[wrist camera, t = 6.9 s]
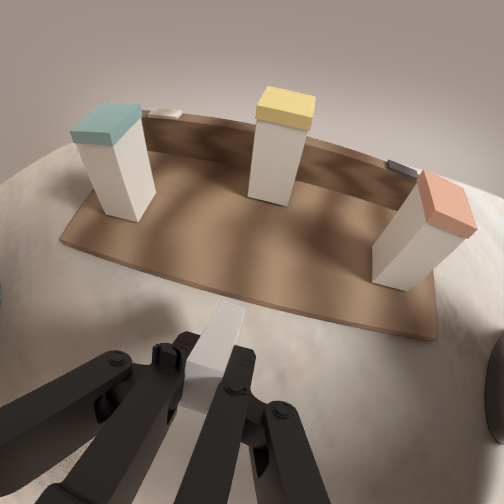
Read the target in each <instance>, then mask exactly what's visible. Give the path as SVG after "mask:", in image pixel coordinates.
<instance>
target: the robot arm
mask: <svg viewBox="0 0 504 504" xmlns="http://www.w3.org/2000/svg"><path fill="white" fill-rule="evenodd" d="M245 309H246V307H244V306H241V305H237V304H233V303H230V302H226V301H223V300H222V301H221V302H220V304H219V306H218V308H217V309H216V311H215V313H214V314H213V316H212V318H211V319H210V321H209V323H208V324H207V326H206V328H205V330H204V331H203V333H202V335H201V336H200V335H197V334H194V333H191V332H188V331H185V332H183V333H181V334H179V335H178V337H177V338H176V339H175V341H174V342H173V344H170V343H160V344H156V345H155V346H154V347H153V352H152V363H151V364H150V365H141V364H136V363H132V359H131V357H130V356H129V355H128V354H126V353H124V352H122V351H117V350H114V351H108V352H106V353H104V354H102V355H100V356H98V357H96V358H94V359H93V360H91V361H89V362H87V363H85V364H83V365H81V366H79V367H78V368H76V369H74V370H72V371H70V372H68V373H66V374H64V375H63V376H61V377H59V378H57V379H55V380H53V381H51V382H49V383H47V384H45V385H44V386H42V387H40V388H38V389H36V390H34V391H32V392H30V393H28V394H26V395H24V396H22V397H20V398H18V399H16V400H14V401H12V402H11V403H9V404H7V405H5V406H3V407H1V408H0V497H3V496H6V495H9V494H11V493H13V492H15V491H17V490H19V489H21V488H22V487H24V486H25V485H27V484H28V483H30V482H31V481H33V480H34V479H36V478H37V477H39V476H40V475H42V474H43V473H45V472H46V471H48V470H49V469H51V468H52V467H53V466H55V465H56V464H58V463H59V462H61V461H62V460H63V459H65V458H66V457H68V456H69V455H70V454H72V453H73V452H74V451H76V450H77V449H79V448H80V447H81V446H83V445H84V444H85V443H87V442H88V441H89V440H91V439H92V438H93V437H95V436H96V435H97V436H96V437H95V438H94V440H93V441H92V442H91V444H90V445H89V447H88V448H87V449H86V451H85V452H84V453H83V455H82V456H81V457H80V459H79V460H78V461H77V463H76V464H75V466H74V467H73V468H72V470H71V471H70V472H69V474H68V475H67V477H66V478H65V479H64V480H63V481H62V482H61V483H53V484H51V485H49V486H48V487H47V488H46V489H45V490H44V492H43V493H42V494H41V496H40V497H39V498H38V500H37V501H36V502H35V504H132V502H133V500H134V498H135V496H136V494H137V492H138V490H139V488H140V486H141V484H142V482H143V480H144V478H145V476H146V474H147V472H148V470H149V468H150V466H151V464H152V462H153V460H154V458H155V456H156V454H157V452H158V450H159V448H160V446H161V443H162V441H163V439H164V437H165V435H166V433H167V431H168V429H169V427H170V425H171V423H172V421H173V419H174V417H175V415H176V412H177V406H178V404H179V402H180V406H183V407H185V408H188V409H191V410H195V411H198V412H201V413H204V414H207V416H206V419H205V422H204V424H203V427H202V430H201V432H200V435H199V438H198V440H197V443H196V446H195V448H194V451H193V454H192V456H191V459H190V462H189V464H188V467H187V470H186V472H185V475H184V477H183V480H182V483H181V485H180V488H179V491H178V493H177V496H176V498H175V501H174V503H173V504H227V501H228V497H229V493H230V488H231V484H232V479H233V475H234V470H235V466H236V461H237V456H238V452H239V447H240V442H242V443H244V444H246V445H248V446H249V453H250V459H251V465H252V472H253V478H254V484H255V490H256V495H257V501H258V504H331V503H330V500H329V497H328V495H327V492H326V489H325V486H324V484H323V481H322V478H321V475H320V473H319V470H318V467H317V464H316V462H315V459H314V456H313V453H312V451H311V448H310V445H309V442H308V440H307V437H306V434H305V431H304V428H303V426H302V423H301V420H300V417H299V414H298V412H297V410H296V409H295V407H293V406H292V405H291V404H289V403H286V402H283V401H272V402H270V403H268V404H266V403H264V402H261V401H260V400H258V399H257V398H256V397H254V395H253V394H252V393H251V390H250V386H251V381H252V376H253V370H254V365H255V360H256V355H255V353H254V351H253V350H252V349H248V348H244V347H241V346H237V345H236V344H237V340H238V336H239V332H240V328H241V325H242V321H243V317H244V313H245ZM180 400H181V401H180ZM486 413H487V420H488V424H489V428H490V431H491V433H492V435H493V437H494V438H495V440H496V441H498V442H499V443H501V444H504V336H503V337H501V339H500V340H499V341H498V343H497V344H496V346H495V348H494V350H493V353H492V356H491V359H490V363H489V368H488V373H487V381H486Z"/></svg>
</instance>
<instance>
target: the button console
mask: <svg viewBox="0 0 504 504" xmlns="http://www.w3.org/2000/svg"><path fill="white" fill-rule="evenodd" d="M141 111H142V117H141V121H142V127H143V132H144V138H145V143H146V148H147V153H148V158H149V162H150V167H151V172H152V176H153V181H154V185H155V189H156V194H155V195H154V197H153V199H152V200H151V202H150V204H149V205H148V207H147V209H146V210H145V212H144V214H143V215H142V217H141V219H140V220H139V222H134V221H130V220H126V219H122V218H118V217H114V216H110V215H106V214H105V212H104V210H103V208H102V206H101V203H100V201H99V199H98V197H97V194H96V192H95V190H94V189H93V190H92V192H91V193H90V194H89V196H88V197H87V199H86V200H85V201H84V203H83V204H82V206H81V207H80V209H79V210H78V211H77V213H76V214H75V216H74V217H73V219H72V220H71V222H70V224H69V225H68V227H67V228H66V230H65V231H64V233H63V235H62V236H61V238H60V240H61V241H62V243H63V244H64V245H67V246H69V247H72V248H75V249H78V250H80V251H83V252H86V253H89V254H92V255H94V256H97V257H100V258H103V259H106V260H109V261H112V262H115V263H118V264H121V265H124V266H127V267H130V268H133V269H136V270H139V271H142V272H145V273H148V274H152V275H155V276H158V277H161V278H164V279H168V280H171V281H174V282H178V283H181V284H184V285H188V286H191V287H195V288H198V289H202V290H205V291H209V292H212V293H216V294H219V295H223V296H227V297H230V298H234V299H238V300H241V301H245V302H249V303H253V304H257V305H261V306H265V307H269V308H273V309H277V310H281V311H285V312H289V313H293V314H297V315H302V316H306V317H310V318H315V319H319V320H324V321H328V322H333V323H337V324H342V325H347V326H352V327H356V328H361V329H366V330H372V331H377V332H382V333H387V334H393V335H398V336H404V337H410V338H416V339H422V340H428V341H432V340H434V339H436V338H437V315H436V298H435V286H434V276H433V270H432V271H431V272H430V273H429V274H428V275H426V276H425V277H424V278H423V279H422V280H421V281H419V282H418V283H417V284H416V285H415V286H414V287H412V288H411V289H410V290H409V291H408V292H407V291H403V290H399V289H395V288H391V287H388V286H384V285H380V284H376V283H372V246H373V245H374V243H375V242H376V241H377V239H378V238H379V237H380V235H381V234H382V233H383V231H384V230H385V229H386V227H387V226H388V224H389V223H390V222H391V220H392V219H393V217H394V216H395V215H396V213H397V212H398V210H399V209H400V207H401V206H402V205H403V203H404V202H405V200H406V199H407V197H408V196H409V194H410V193H411V191H412V190H413V188H414V187H415V185H416V184H417V181H416V180H417V179H418V177H419V176H420V175H418V174H417V171H416V170H413V169H411V168H409V167H406V166H404V165H401V164H399V163H396V162H394V161H391V160H388V161H387V162H386V161H383V160H380V159H377V158H375V157H372V156H369V155H366V154H363V153H360V152H357V151H354V150H351V149H348V148H344V147H342V146H338V145H335V144H332V143H328V142H325V141H321V140H318V139H314V138H311V137H306V141H305V144H304V148H303V152H302V155H301V159H300V163H299V166H298V170H297V174H296V177H295V181H294V184H293V188H292V192H291V195H290V199H289V202H288V206H283V205H279V204H275V203H272V202H267V201H263V200H259V199H255V198H251V197H248V189H249V180H250V171H251V163H252V154H253V146H254V138H255V129H256V125H254V124H249V123H244V122H238V121H233V120H227V119H220V118H213V117H207V116H199V115H191V114H183V113H182V111H180V110H169V109H155V108H154V109H153V110H152V111H146V110H141Z"/></svg>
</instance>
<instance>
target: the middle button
mask: <svg viewBox="0 0 504 504" xmlns="http://www.w3.org/2000/svg"><path fill="white" fill-rule="evenodd" d="M315 100H316V97H314V96H310V95H306V94H302V93H298V92H294V91H289V90H284V89H280V88H275V87H270V86H268V87H267V88H266V90H265V92H264V94H263V96H262V97H261V99H260V101H259V102H258V104H257V108H256V117H255V118H256V119H257V121H256V129H255V138H254V146H253V154H252V163H251V171H250V180H249V189H248V197H251V198H255V199H259V200H263V201H267V202H272V203H275V204H279V205H283V206H288V202H289V199H290V195H291V192H292V188H293V184H294V181H295V177H296V174H297V170H298V166H299V163H300V159H301V155H302V152H303V148H304V144H305V141H306V137H307V133H308V131H310V127H311V123H312V119H313V114H314V107H315Z"/></svg>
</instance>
